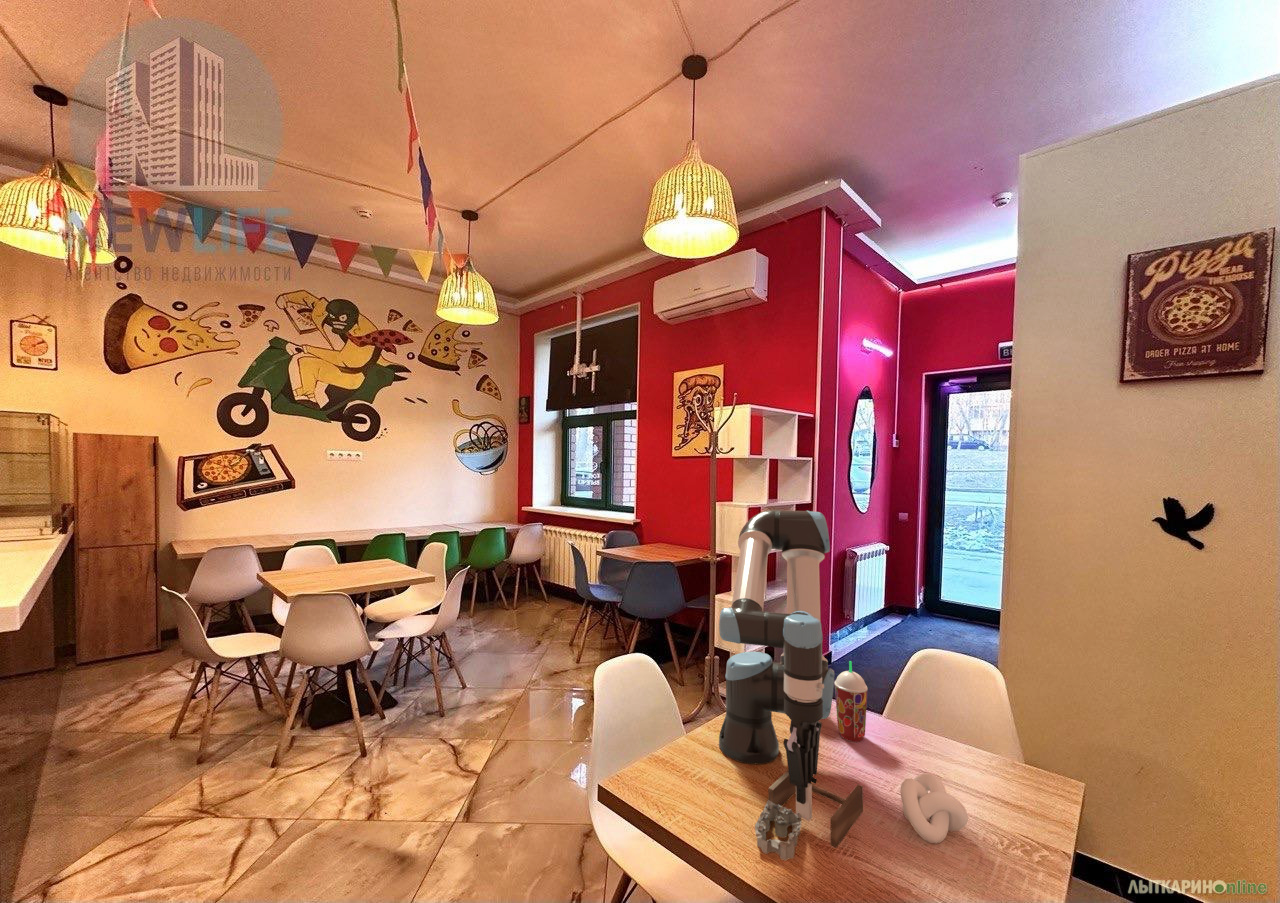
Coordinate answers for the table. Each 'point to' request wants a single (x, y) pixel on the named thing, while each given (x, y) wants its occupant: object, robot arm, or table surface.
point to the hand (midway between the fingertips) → (803, 816)
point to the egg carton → (778, 830)
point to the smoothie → (851, 705)
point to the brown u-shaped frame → (844, 814)
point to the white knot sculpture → (931, 807)
